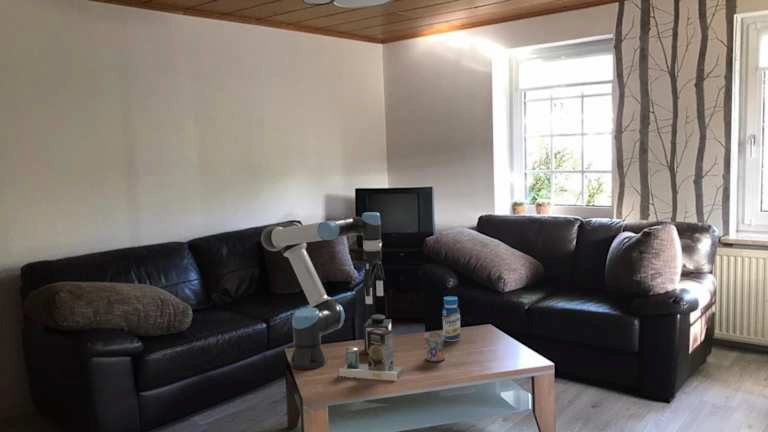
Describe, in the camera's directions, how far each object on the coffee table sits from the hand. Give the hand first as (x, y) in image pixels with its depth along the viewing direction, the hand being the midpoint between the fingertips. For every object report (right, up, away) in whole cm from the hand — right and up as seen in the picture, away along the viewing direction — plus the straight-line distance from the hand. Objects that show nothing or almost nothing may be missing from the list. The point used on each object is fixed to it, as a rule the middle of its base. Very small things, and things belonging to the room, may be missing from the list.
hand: (374, 299), depth 257 cm
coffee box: (+3, -27, -8) cm, 29 cm away
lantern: (+2, -27, +21) cm, 34 cm away
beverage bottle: (+36, -24, +34) cm, 55 cm away
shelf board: (-1, -29, -7) cm, 30 cm away
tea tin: (-9, -27, -5) cm, 29 cm away
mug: (+26, -27, +8) cm, 38 cm away
